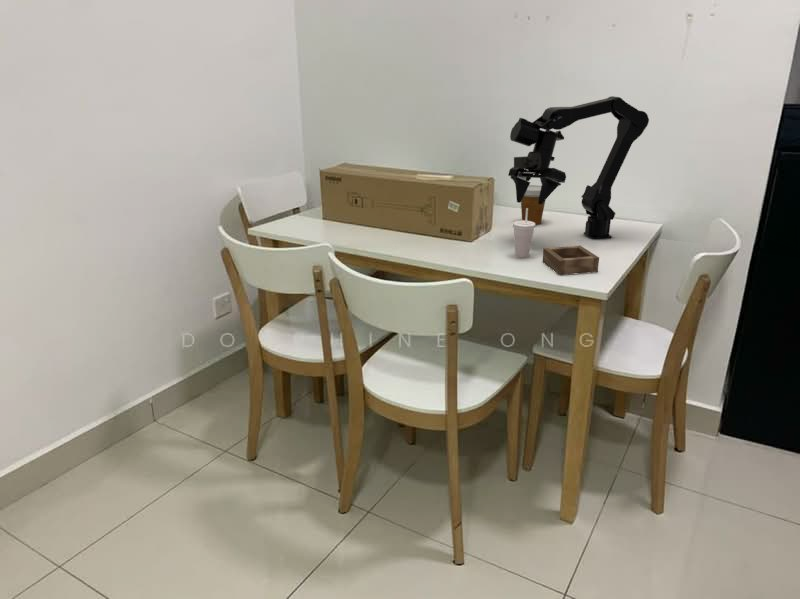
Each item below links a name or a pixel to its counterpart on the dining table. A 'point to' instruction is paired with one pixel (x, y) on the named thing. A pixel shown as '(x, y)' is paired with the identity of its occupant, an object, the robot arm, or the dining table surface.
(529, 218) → the disposable coffee cup
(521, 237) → the smoothie
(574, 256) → the socket block
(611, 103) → the robot arm
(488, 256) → the dining table surface
